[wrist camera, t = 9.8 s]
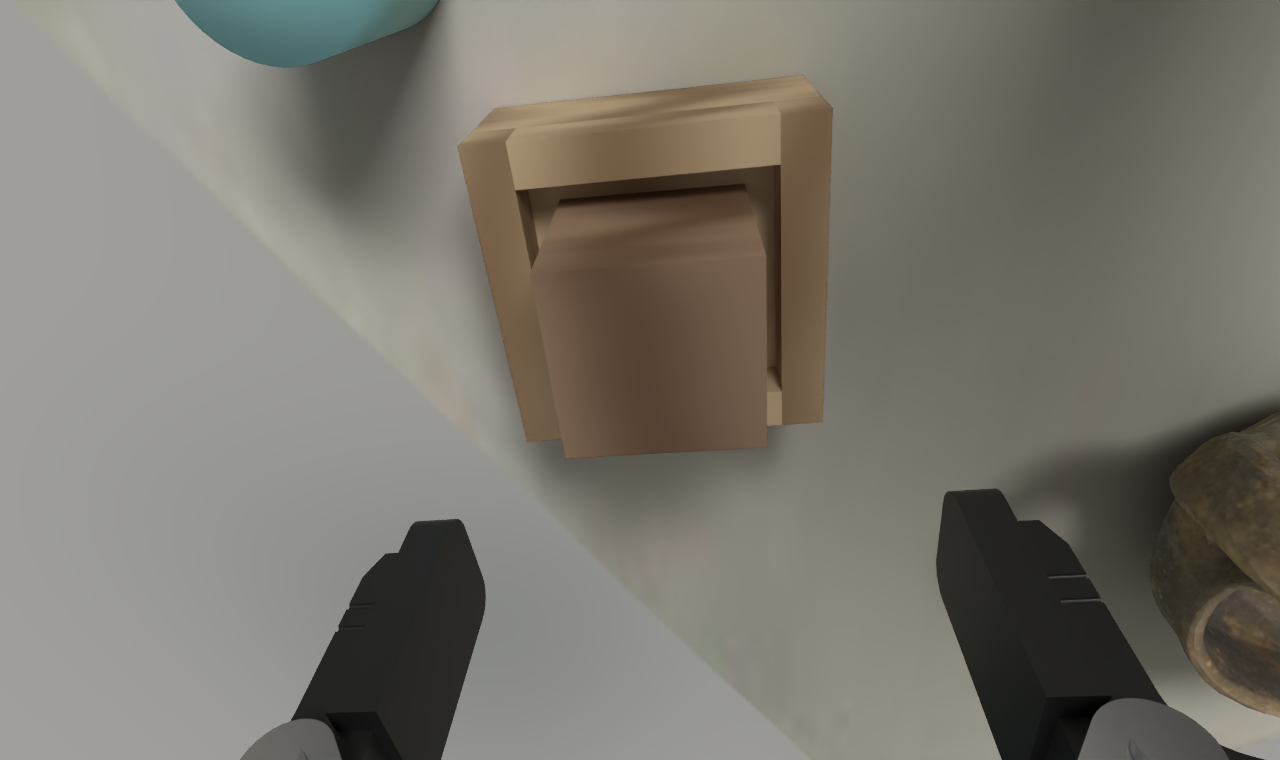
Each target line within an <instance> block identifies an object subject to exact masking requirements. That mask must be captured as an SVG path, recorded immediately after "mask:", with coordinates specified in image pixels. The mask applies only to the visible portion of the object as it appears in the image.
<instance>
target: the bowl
mask: <svg viewBox="0 0 1280 760" xmlns="http://www.w3.org/2000/svg"><path fill="white" fill-rule="evenodd" d="M1169 483H1170V489H1171V491H1172V493H1173V495H1174V497H1175V498H1174V501H1173V503H1172V505H1171V506H1170V508H1169V510H1168V512H1167V514H1166V516H1165V518H1164V521H1163V523H1162V526H1161V528H1160V531H1159V535H1158V539H1157V542H1156V546H1155V549H1154V553H1153V556H1152V560H1151V565H1150V577H1151V585H1152V590H1153V595H1154V598H1155V600H1156V602H1157V604H1158V607H1159V609H1160V611H1161V613H1162V615H1163V616H1164V618H1165V619H1166V620H1167V621H1168V623H1169V624H1170V625H1171V627H1172V628H1173V629H1174V631H1175V633H1176V634H1177V636H1178V637H1179V640H1180V642H1181V645H1182V647H1183V649H1184V651H1185V653H1186V655H1187V657H1188V659H1189V660H1190V662H1191V663H1192V664H1193V666H1194V667H1195V669H1196V670H1197V672H1198V673H1199V674H1200V676H1201V677H1202V678H1203V679H1204V680H1205V682H1207V683H1208V684H1209V685H1210V686H1211V687H1213V688H1214V689H1215V690H1216V691H1218V692H1219V693H1220V694H1222V695H1224V696H1226V697H1228V698H1230V699H1232V700H1234V701H1236V702H1238V703H1240V704H1242V705H1243V706H1245V707H1247V708H1250V709H1253V710H1256V711H1259V712H1262V713H1266V714H1269V715H1273V716H1277V717H1280V411H1278V412H1276V413H1274V414H1273V415H1271V416H1269V417H1267V418H1265V419H1263V420H1261V421H1259V422H1258V423H1256V424H1254V425H1252V426H1250V427H1248V428H1246V429H1244V430H1243V431H1241V432H1229V433H1226V434H1222V435H1219V436H1216V437H1213V438H1212V439H1210V440H1209V441H1207V442H1205V443H1204V444H1202V445H1201V446H1200V447H1199V448H1198V449H1197V450H1196V451H1195V452H1194V453H1192V454H1191V455H1190V456H1189V457H1188V458H1186V459H1185V460H1184V461H1183V462H1182V463H1181V464H1179V465H1178V467H1177V468H1176V469H1175V470H1174V472H1173V473H1172V474H1171V476H1170V480H1169Z"/></svg>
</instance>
